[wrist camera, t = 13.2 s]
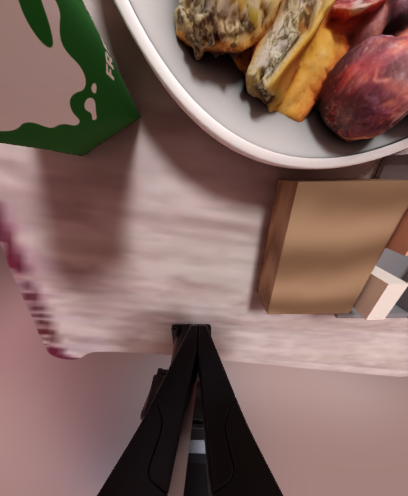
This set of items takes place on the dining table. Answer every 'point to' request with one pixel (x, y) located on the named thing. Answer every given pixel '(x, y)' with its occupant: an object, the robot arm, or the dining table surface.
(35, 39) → the milk carton
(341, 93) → the bowl
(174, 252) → the dining table surface
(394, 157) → the tray
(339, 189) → the board
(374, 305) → the cream tile
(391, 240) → the terracotta tile
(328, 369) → the dining table surface
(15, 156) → the dining table surface
